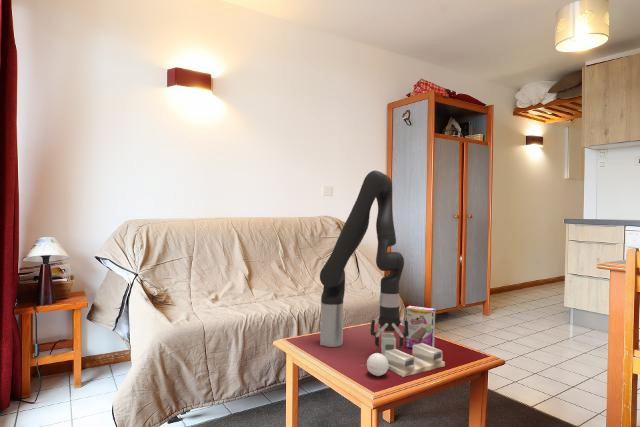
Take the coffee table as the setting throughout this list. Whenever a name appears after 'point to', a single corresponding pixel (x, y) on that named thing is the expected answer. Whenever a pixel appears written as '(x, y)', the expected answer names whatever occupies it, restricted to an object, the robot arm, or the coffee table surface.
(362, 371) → the coffee table surface
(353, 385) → the coffee table surface
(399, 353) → the rail board
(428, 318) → the candy bar box
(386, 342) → the block
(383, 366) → the seamed sphere
